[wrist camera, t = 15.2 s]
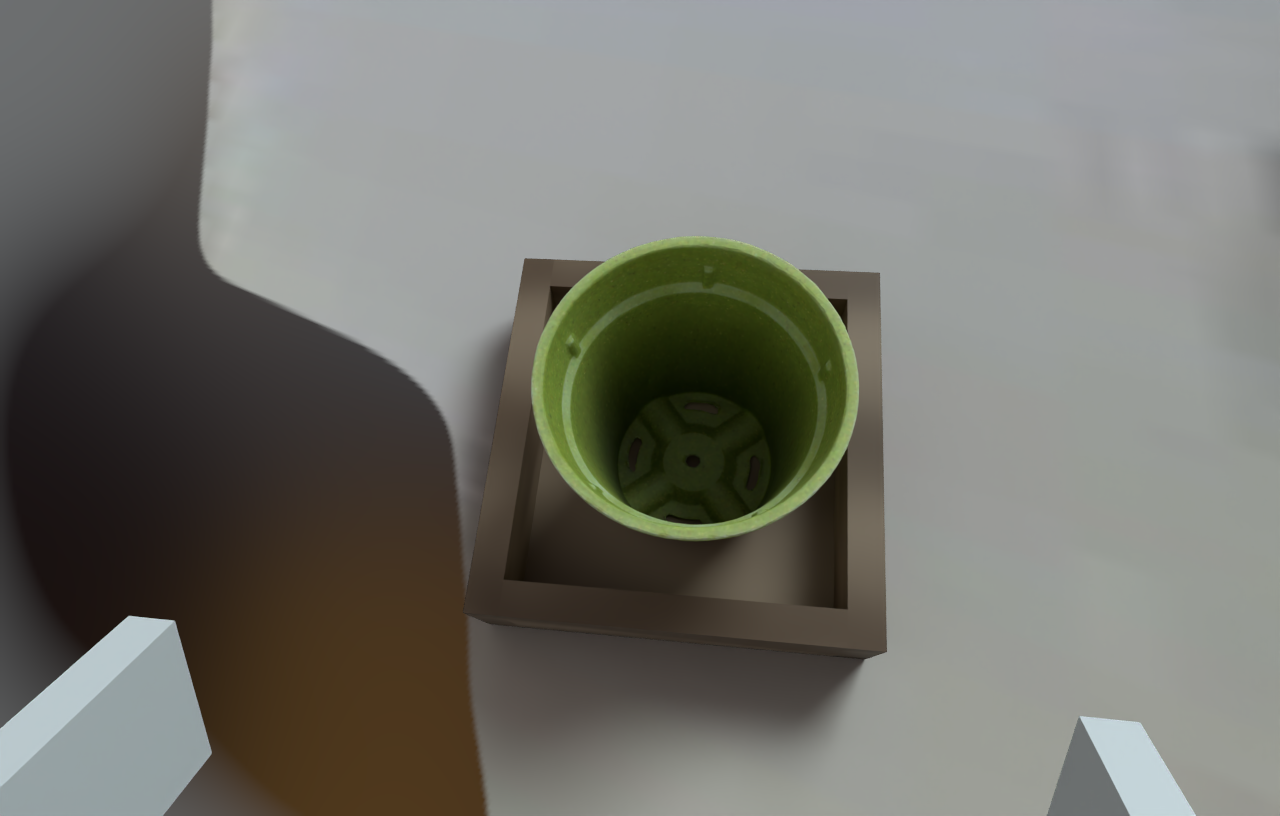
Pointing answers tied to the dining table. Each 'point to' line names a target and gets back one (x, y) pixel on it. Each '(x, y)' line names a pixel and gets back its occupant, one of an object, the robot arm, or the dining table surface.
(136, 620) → the robot arm
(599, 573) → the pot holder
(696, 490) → the plant pot
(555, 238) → the dining table surface
